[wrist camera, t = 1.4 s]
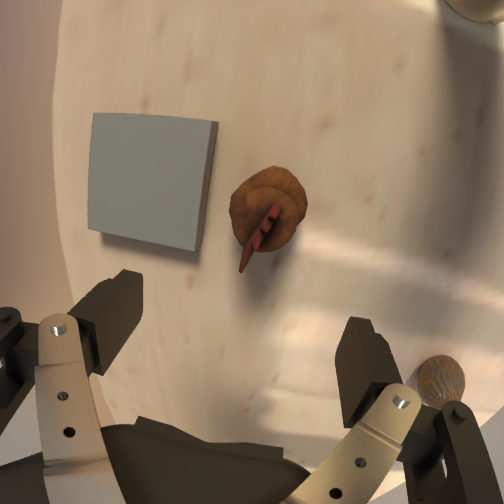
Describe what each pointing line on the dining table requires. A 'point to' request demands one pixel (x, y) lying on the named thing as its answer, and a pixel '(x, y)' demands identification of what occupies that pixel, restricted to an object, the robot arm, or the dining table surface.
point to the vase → (441, 381)
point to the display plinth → (150, 177)
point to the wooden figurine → (267, 211)
